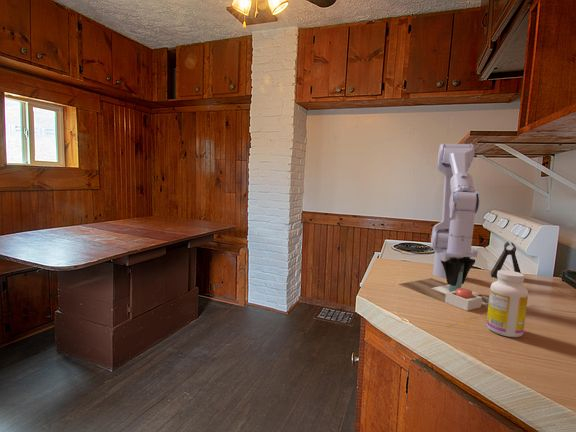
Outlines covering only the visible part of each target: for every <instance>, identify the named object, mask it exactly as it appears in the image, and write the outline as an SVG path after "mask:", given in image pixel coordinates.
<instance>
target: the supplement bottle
mask: <svg viewBox="0 0 576 432" xmlns="http://www.w3.org/2000/svg"><path fill="white" fill-rule="evenodd" d="M496 279H497V280H496V281H493V282H492V283H491V284H490V287H489V295H488V297H489V304H488V306H487V314H486V315H487V316H486V327H487V328H488V329H489V331H491V332H492V333H495V334H497V335H499V336H504V337H508V338H509V337H510V338H520V337H522V336H523V335H524V330H525V323H526V314H527V308H528V307H527V305H528V298H529V291H528V289H527V287H525V286H524V285H523V283H524V281H525V275H524V274H523V273H518V272H514V270H508V269H507V270H506V269H501V270H498V272H497V278H496Z"/></svg>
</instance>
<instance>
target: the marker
mask: <svg viewBox="0 0 576 432" xmlns="http://www.w3.org/2000/svg"><path fill="white" fill-rule="evenodd" d="M463 271H464V264H463V265H462V267H461V269H460V271H459V274H458V279H457V283H456V286H452V285H449V291H451V292H452V291H456V290H457V288H462V287H463V286H462V285H463V284H462V277H463Z"/></svg>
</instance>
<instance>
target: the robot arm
mask: <svg viewBox="0 0 576 432" xmlns="http://www.w3.org/2000/svg"><path fill="white" fill-rule="evenodd" d="M474 156H475V145H474V144H473V143H444V142H443V143H442V142H441V144H440V145H439V148H438V154H437V168H438V169H437V171H439V172H440V173H442V175H443V180H444V181H443V196H442V197H443V198H442V212H441V213H442V214H441V215H442V216H441V221H440V222H438V223H436V224H435V225H434V226H433V227H432V229H431V230H432V232H431V236H430V237H431V238H430V248H432V250H434V258H433V268H432V275H433V276H435V277H438V278H441V279H446V283H447V284H449V285H452V286H456V283H457V279H458V274H459V271H460V269H461V267H462V265H463V264H464V271H463V277H462V285H464V284H465V281H466V279H467V276H468V274H469V272H470V270H471V268H472V267H473V266H474V264H476V259H474V258H477V257H478V251H479V250H477V249H472V243H473V233H474V228H475V227H474V226H475V217H476V215H475V214H477V213H478V211H479V207H480V200H481V199H480V193H479V191H477V189H475V185H474V181H473V179H474V178H473V176H472V175H471V174H470V173H468V170H469V168H470V167H471V165H472V162H473V161H474Z"/></svg>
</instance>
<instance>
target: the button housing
mask: <svg viewBox="0 0 576 432" xmlns="http://www.w3.org/2000/svg"><path fill="white" fill-rule="evenodd" d="M456 291H457V290H456ZM456 291H452V292H447V293H446V297H445V302H446V303H445V302H444V303H445V304H447V303H448V305H450V304H451V306H452V305H453V307H455V306H456V308H457V307H458V308H457V309H460V308H461V309H460V310H463V309H464V310H463V311H465V310H466V312H469V310H470V311H473V310H472V309H474V310H477V309H480V308H479V307H481V304H482V297H480V296H477V295H474V294H472V298H470V299H465V298H462V297H460V296H457V295H456ZM476 308H477V309H476ZM481 308H482V307H481Z"/></svg>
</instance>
